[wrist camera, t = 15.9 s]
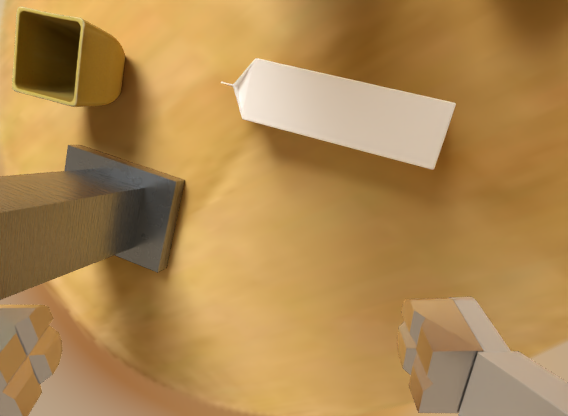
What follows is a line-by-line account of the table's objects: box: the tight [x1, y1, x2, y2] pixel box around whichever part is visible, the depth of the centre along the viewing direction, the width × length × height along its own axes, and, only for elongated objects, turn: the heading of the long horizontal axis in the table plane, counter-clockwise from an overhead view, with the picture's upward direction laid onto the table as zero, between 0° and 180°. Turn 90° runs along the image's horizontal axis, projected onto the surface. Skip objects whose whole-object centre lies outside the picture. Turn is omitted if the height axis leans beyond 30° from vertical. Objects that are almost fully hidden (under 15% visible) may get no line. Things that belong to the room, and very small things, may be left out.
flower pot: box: [12, 7, 125, 107], centre depth 45 cm, size 9×9×9 cm
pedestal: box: [0, 145, 185, 300], centre depth 38 cm, size 16×12×28 cm
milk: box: [221, 58, 456, 170], centre depth 39 cm, size 6×6×22 cm
